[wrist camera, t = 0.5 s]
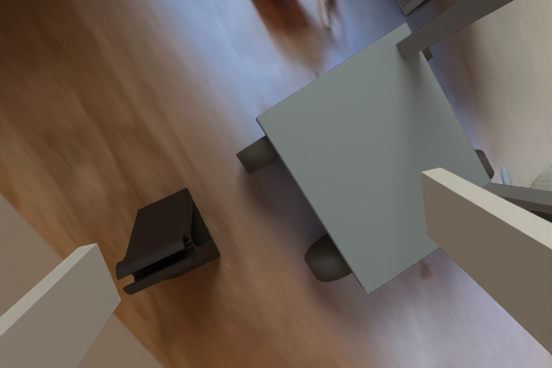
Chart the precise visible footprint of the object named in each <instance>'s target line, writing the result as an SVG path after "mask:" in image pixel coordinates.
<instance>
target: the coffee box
mask: <svg viewBox="0 0 552 368" xmlns="http://www.w3.org/2000/svg"><path fill="white" fill-rule="evenodd" d="M431 1H432V0H397V2H398V4H399V6H400V8H401V10H402V12H403V14H404V15H405V16H408V15H410V14H411V13H413V12H415V11H416V10H418V9H420V8H421V7H423V6H424V5H426V4H428V3H429V2H431Z"/></svg>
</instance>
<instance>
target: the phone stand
mask: <svg viewBox="0 0 552 368" xmlns="http://www.w3.org/2000/svg"><path fill="white" fill-rule="evenodd" d="M218 257H220V253H219V251H218V249H217V247H216V245H215V243H214V241H213V239H212V237H211V235H210V233H209V231H208V229H207V227H206V225H205V223H204V222H203V219H202V217H201V215H200V213H199V211H198V209H197V207H196V205H195V203H194V201H193V199H192V197H191V195H190V193H189V191H188V189H187V188H185V189H183V190H181V191H179V192H176V193H174V194H172V195H170V196H168V197H166V198H163V199H161V200H159V201H157V202H155V203H153V204H150V205H148V206H146V207H144V208H142V209H139V210H138V213H137V216H136V220H135V224H134V227H133V231H132V234H131V238H130V242H129V245H128V249H127V252H126V256H125V258H124V259H123V260H122V261H120V262H118V263H117V265H116V276H117V279H118V280H119V279H121V278H123V277H126V276H128V275H130V274H132V275H133V276H134V277H135V279H134V281H135V282H134V283H132V284H129V285H127V286H125V287H124V288H123V290H124V291H125V292H126V293H127V294H130V295H132V294H134V293H137V292H139V291H141V290H143V289H145V288H147V287H149V286H151V285H154V284H156V283H158V282H160V281H162V280H167V279H172V278H175V277H177V276H180V275H182V274H184V273H186V272H188V271H190V270H192V269H194V268H197V267H199V266H201V265H203V264H205V263H207V262H209V261H211V260H214V259H216V258H218Z"/></svg>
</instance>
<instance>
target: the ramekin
mask: <svg viewBox="0 0 552 368" xmlns="http://www.w3.org/2000/svg"><path fill="white" fill-rule="evenodd" d="M531 188H532V189H539V190H546V191H552V167H550V168H549V169H547V170H545V171H544V172H543V173H542V174H541V175H540V176H539V177H538V178H537V179H536V180H535V181H534V183H533V184H532V186H531Z"/></svg>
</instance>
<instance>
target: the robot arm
mask: <svg viewBox="0 0 552 368" xmlns="http://www.w3.org/2000/svg"><path fill="white" fill-rule="evenodd" d="M421 177H422V187H423V197H424V207H425V217H426V227H427V235H428V236H429V237H430V238H431V239H432V240H433V241H434V242H435V243H436V244H437V245H438V246H439V247H440V248H441V249H442V250H443V251H444V252H445V253H446V254H447V255H449V256H450V257H451V258H452V259H453V260H454V261H455V262H456V263H457V264H458V265H459V266H460V267H461V268H462V269H463V270H464V271H465V272H466V273H467V274H468V275H469V276H470V277H471V278H472V279H473V280H475V281H476V282H477V283H478V284H479V285H480V286H481V287H482V288H483V289H484V290H485V291H486V292H487V293H488V294H489V295H490V296H491V297H492V298H493V299H494V300H495V301H496V302H497V303H498V304H499V305H500V306H502V307H503V308H504V309H505V310H506V311H507V312H508V313H509V314H510V315H511V316H512V317H513V318H514V319H515V320H516V321H517V322H518V323H519V324H520V325H521V326H522V327H523V328H524V329H525V330H526V331H528V332H529V333H530V334H531V335H532V336H533V337H534V338H535V339H536V340H537V341H538V342H539V343H540V344H541V345H542V346H543V347H544V348H545V349H546V350H547V351H548V352H549V353H550V354H551V355H552V214H548V213H544V212H540V211H536V210H530V211H526V210H524V209H522V208H520V207H518V206H516V205H514V204H512V203H510V202H508V201H506V200H505V199H503V198H501V197H499V196H497V195H495V194H493V193H491V192H489V191H487V190H485V189H483V188H481V187H479V186H477V185H475V184H473V183H471V182H469V181H467V180H465V179H463V178H461V177H459V176H457V175H455V174H453V173H451V172H449V171H447V170H445V169H443V168H436V169H432V170H427V171H423V172H421ZM120 301H121V299H120V296H119V294H118V292H117V289H116V287H115V285H114V282H113V280H112V278H111V275H110V273H109V270H108V268H107V266H106V263H105V261H104V259H103V256H102V254H101V252H100V249H99V247H98V244H97V243H95V244H91V245H86V246H82V247H78V248H77V249H76V250H75V251H74V252H73V253H72V254H71V255H69V256H68V257H67V258H66V259H65V260H64V261H63V262H62V263H60V265H58V266H57V267H56V268H55V269H54V270H53V271H51V272H50V273H49V274H48V275H47V276H46V277H45V278H44V279H43V280H41V281H40V282H39V283H38V284H37V285H36V286H35V287H34V288H32V289H31V290H30V291H29V292H28V293H27V294H26V295H25V296H23V297H22V298H21V299H20V300H19V301H18V302H17V303H16V304H14V305H13V306H12V307H11V308H10V309H9V310H8V311H7V312H6V313H4V314H3V315H2V316H1V317H0V368H77V366H78V365H79V363H80V362H81V360H82V359H83V357H84V356H85V354H86V353H87V351H88V350H89V348H90V347H91V345H92V344H93V342H94V341H95V339H96V337H97V336H98V334H99V333H100V331H101V330H102V328H103V327H104V325H105V324H106V322H107V321H108V319H109V318H110V316H111V315H112V313H113V312H114V310H115V309H116V307H117V306H118V304H119V303H120Z"/></svg>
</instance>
